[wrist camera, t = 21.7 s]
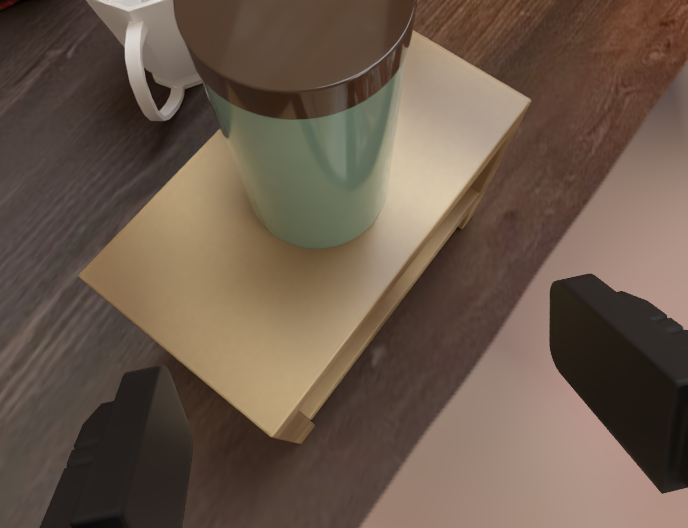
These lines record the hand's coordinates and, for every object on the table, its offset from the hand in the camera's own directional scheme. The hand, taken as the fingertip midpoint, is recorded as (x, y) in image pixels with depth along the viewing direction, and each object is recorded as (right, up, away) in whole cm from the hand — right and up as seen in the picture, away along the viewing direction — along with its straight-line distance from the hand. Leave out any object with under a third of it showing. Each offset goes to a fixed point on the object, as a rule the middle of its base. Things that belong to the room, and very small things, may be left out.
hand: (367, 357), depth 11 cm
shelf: (-1, +1, +19) cm, 20 cm away
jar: (-1, +5, +9) cm, 10 cm away
